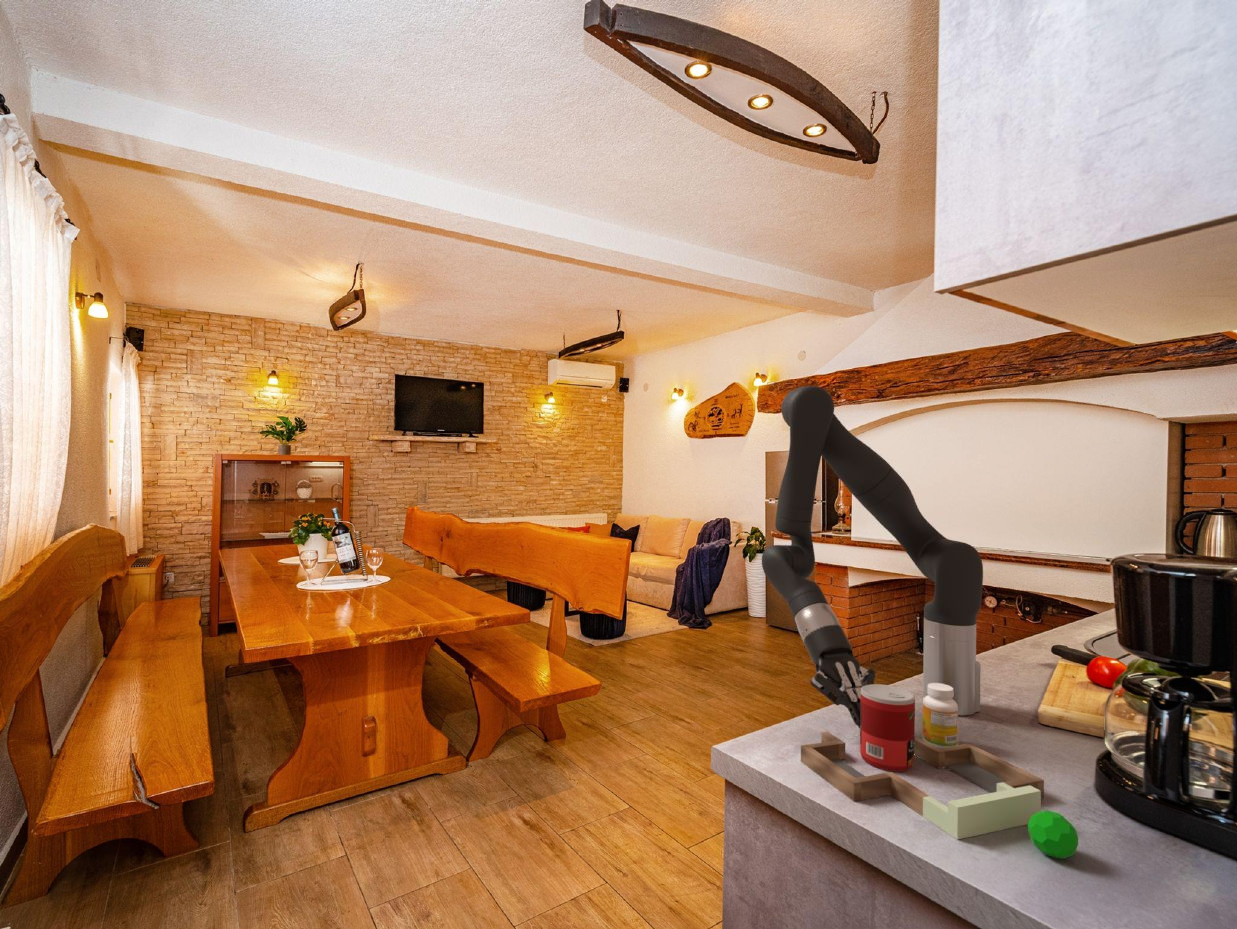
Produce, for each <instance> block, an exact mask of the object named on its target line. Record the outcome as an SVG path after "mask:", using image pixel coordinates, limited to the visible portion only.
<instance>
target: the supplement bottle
mask: <svg viewBox="0 0 1237 929" xmlns="http://www.w3.org/2000/svg"><path fill="white" fill-rule="evenodd" d="M927 691H928V692H927V693H928V694H929V695H928V696H926V697H924V699H923V698H922V724H921V725H922V726H921V727H922V733H921V734H922V738H921V739H922V740H924V741H926V742H928V743H929V744H931V745H933V746H935V747H937V748H944V747H950V746H957V745H959V744H958V742H959V715H958V705H957V703H956V702H955V701H954V700H953V699H952V698H953V696H954V689H953V688H952V687H951V686H949V685H945V684H941V683H930V684H928V687H927Z"/></svg>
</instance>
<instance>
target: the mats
mask: <svg viewBox="0 0 1237 929" xmlns="http://www.w3.org/2000/svg"><path fill="white" fill-rule="evenodd" d="M830 761H832V762H833V763H834V764H836V765H837V766H839V767H840V768H842V769H843V770H845V771H846V772H847V773H849V774H850V775H852V776H853V777H855V778H858V777H864V776H865V775H864V774H862V772H859V771H858V770H857V769H856V768H854V767H852V766H851V765H849V764H848V763H847V762H845V761H843V759H839V758H838V759H832V760H830ZM946 769H948V770H950V771H951V772H953V773H955V774H957V775H959V776H960V777H962V778H963V779H966V780H967V781H969V782H971V783H973V784H974V785H976V786H978V787H980V788H982V789H984V790H986V791H987V792H988V793H994V792H997V783H1002V782H1007V781H1005V780H1003V779H1001V778H999V777H998V776H996V775H994V774H992V773H990V772H988V771H986V770H984V769H982V768H980V767H978V766H976V765H975V764H973V763H971V762H968V763H962V764H956V765H950V766H947V767H946Z"/></svg>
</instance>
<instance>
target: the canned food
mask: <svg viewBox="0 0 1237 929" xmlns="http://www.w3.org/2000/svg"><path fill="white" fill-rule="evenodd" d="M915 698H916V697H915V695H914V694H913V692H910V691H909V690H907V689H905V688H902V687H899V686H898V687H897V686H894V685H889V684H888V685H887V684H882V683H881V684H880V683H879V684H875V683H874V684H871V685H866V686H863V687H862V688H861V698H860V728H859V730H860V731H859V752H860V756H861V758H862V760H864V762H865V763H867V765H870V766H872V767H873V768H877V769H880V770H883V771H889V772H906V771H909V770H911V769H912V767H913V765H914V762H915V755H914V742H915V736H916V735H915V734H916V732H915V731H916V728H915V727H916V726H915V725H916V724H915V723H916V700H915Z"/></svg>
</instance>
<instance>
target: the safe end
mask: <svg viewBox="0 0 1237 929" xmlns="http://www.w3.org/2000/svg"><path fill="white" fill-rule="evenodd" d="M1041 799H1042V798H1041V791H1040V790H1038V789H1036V788H1034V787H1032V786H1024V787H1019V788H1013V787H1011V786H1009V785H1007V784H1005V783H1003V782H1002V783H997V792H994V793H991V792H988V793H985V794H979V795H974V796H970V797H969V796H968V797H964V798H958V799H953V800H948V801H947V805H945V804H943V803H942V802H940V801H939V800H937V799H935V798H934V797H932V796H931V795H929V796H928V797H923V816H922V817H924V819H926V820H927V821H929V822H930V823H932V824H933V825H935V826H937V827H938V828H939V829H941V830H942V831H944V832H945V833H947V834H948V835H950V836H951V837H953V838H954V839H956V840H961V839H966V838H972V837H974V836H980V835H984V834H988V833H992V832H993V833H994V832H998V831H1003V830H1007V829H1012V828H1015V827H1021V826H1025V825H1028V823H1029V820H1030V818H1031V816H1032V815H1034V814H1035V813H1038V812H1041V811H1042V810H1041V809H1042V808H1041V807H1042V806H1041V804H1042V802H1041Z"/></svg>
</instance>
